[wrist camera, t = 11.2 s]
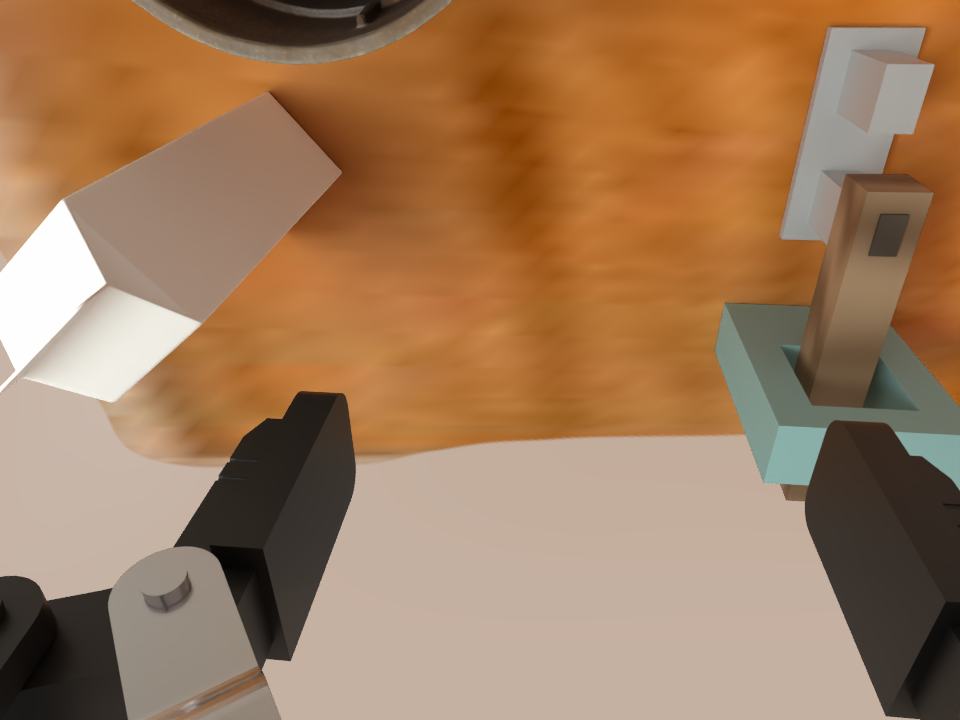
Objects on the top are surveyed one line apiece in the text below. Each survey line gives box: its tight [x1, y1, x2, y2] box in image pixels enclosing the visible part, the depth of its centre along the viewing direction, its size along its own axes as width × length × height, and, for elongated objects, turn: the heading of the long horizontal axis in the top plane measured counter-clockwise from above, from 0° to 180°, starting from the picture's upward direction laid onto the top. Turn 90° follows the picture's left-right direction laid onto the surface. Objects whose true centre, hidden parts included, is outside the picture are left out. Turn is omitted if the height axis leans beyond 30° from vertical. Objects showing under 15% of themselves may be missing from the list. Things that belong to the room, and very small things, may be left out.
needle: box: [780, 174, 934, 501], centre depth 37 cm, size 19×3×3 cm, turn 0°
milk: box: [0, 92, 342, 402], centre depth 31 cm, size 6×6×22 cm
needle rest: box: [779, 27, 935, 245], centre depth 35 cm, size 11×4×5 cm, turn 0°
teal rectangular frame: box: [715, 303, 960, 489], centre depth 38 cm, size 4×9×13 cm, turn 90°
